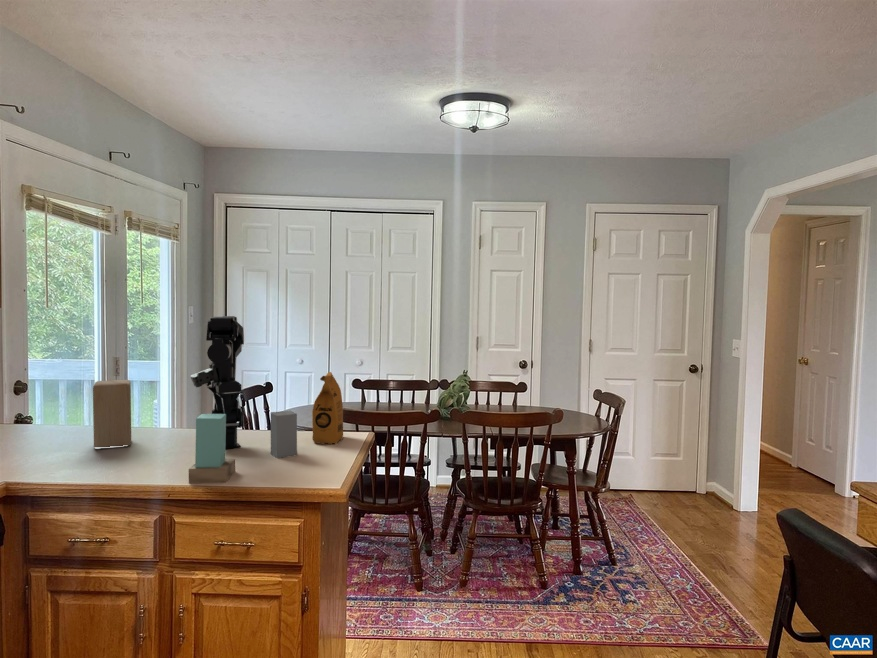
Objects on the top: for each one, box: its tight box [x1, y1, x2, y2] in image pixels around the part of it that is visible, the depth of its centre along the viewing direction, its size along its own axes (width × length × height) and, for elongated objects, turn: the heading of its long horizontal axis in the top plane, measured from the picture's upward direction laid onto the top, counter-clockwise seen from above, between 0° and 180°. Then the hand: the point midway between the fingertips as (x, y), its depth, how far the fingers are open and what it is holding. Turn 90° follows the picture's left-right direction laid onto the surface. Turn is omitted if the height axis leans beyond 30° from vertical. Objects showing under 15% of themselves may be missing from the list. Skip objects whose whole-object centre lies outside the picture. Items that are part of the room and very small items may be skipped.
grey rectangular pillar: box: [270, 410, 298, 459], centre depth 172 cm, size 6×6×12 cm
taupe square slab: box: [188, 458, 236, 484], centre depth 149 cm, size 9×9×4 cm
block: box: [92, 379, 132, 448], centre depth 180 cm, size 10×10×20 cm
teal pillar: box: [194, 413, 226, 468], centre depth 148 cm, size 6×6×12 cm
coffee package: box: [311, 371, 344, 445], centre depth 189 cm, size 10×12×22 cm
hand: (223, 413), depth 167 cm, fingers open, 9 cm apart
